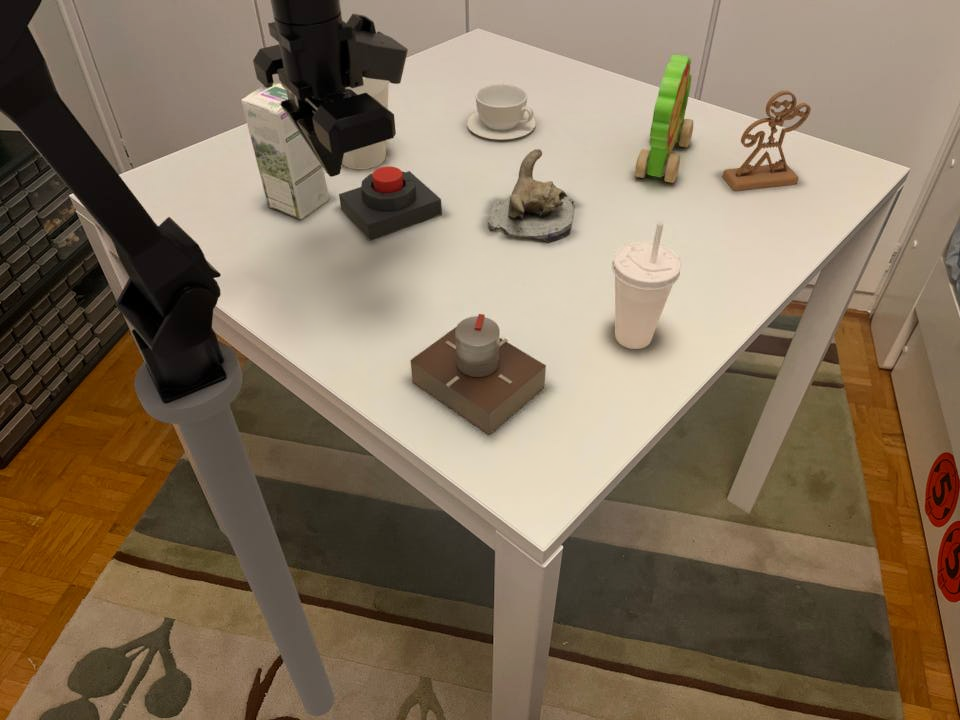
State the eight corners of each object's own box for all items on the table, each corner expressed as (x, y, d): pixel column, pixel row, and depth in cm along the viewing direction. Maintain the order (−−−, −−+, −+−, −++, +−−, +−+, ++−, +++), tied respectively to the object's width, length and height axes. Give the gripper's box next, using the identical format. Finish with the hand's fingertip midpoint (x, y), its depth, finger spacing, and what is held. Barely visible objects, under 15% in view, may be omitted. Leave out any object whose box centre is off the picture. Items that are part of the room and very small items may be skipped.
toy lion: (654, 134, 107) (672, 25, 96) (692, 140, 106) (715, 31, 95) (627, 189, 97) (644, 74, 86) (669, 198, 95) (692, 82, 84)
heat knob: (494, 380, 68) (495, 346, 65) (452, 374, 69) (450, 340, 66) (502, 350, 71) (503, 316, 68) (461, 345, 72) (460, 311, 69)
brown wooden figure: (733, 191, 96) (757, 102, 88) (721, 175, 99) (743, 87, 90) (797, 183, 97) (827, 95, 89) (783, 168, 100) (811, 81, 92)
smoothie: (649, 366, 74) (674, 251, 64) (591, 343, 76) (606, 228, 66) (674, 329, 77) (701, 215, 68) (617, 308, 80) (635, 195, 70)
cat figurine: (483, 241, 90) (484, 203, 86) (499, 180, 97) (501, 142, 92) (566, 253, 89) (572, 215, 84) (577, 190, 96) (582, 152, 91)
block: (369, 240, 89) (366, 211, 86) (341, 209, 94) (336, 181, 91) (441, 214, 93) (440, 186, 90) (410, 185, 98) (408, 158, 95)
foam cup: (398, 140, 106) (390, 48, 97) (395, 174, 100) (386, 79, 91) (331, 141, 106) (317, 49, 97) (324, 175, 100) (307, 80, 90)
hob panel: (411, 382, 72) (409, 359, 70) (468, 339, 77) (468, 316, 74) (488, 435, 68) (488, 412, 65) (545, 386, 72) (547, 363, 70)
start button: (382, 197, 89) (380, 184, 88) (368, 184, 91) (367, 171, 90) (408, 188, 90) (407, 176, 89) (394, 175, 93) (393, 163, 91)
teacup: (454, 131, 108) (453, 100, 105) (489, 104, 114) (489, 74, 111) (514, 149, 104) (514, 117, 101) (547, 120, 110) (549, 89, 107)
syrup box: (331, 199, 95) (312, 89, 85) (299, 222, 92) (276, 110, 82) (297, 187, 98) (275, 78, 87) (265, 208, 94) (238, 98, 84)
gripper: (443, 27, 62) (450, 192, 72) (345, -34, 73) (364, 117, 84) (319, 59, 57) (346, 228, 68) (235, -12, 68) (270, 144, 79)
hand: (333, 174), depth 75 cm, fingers closed
